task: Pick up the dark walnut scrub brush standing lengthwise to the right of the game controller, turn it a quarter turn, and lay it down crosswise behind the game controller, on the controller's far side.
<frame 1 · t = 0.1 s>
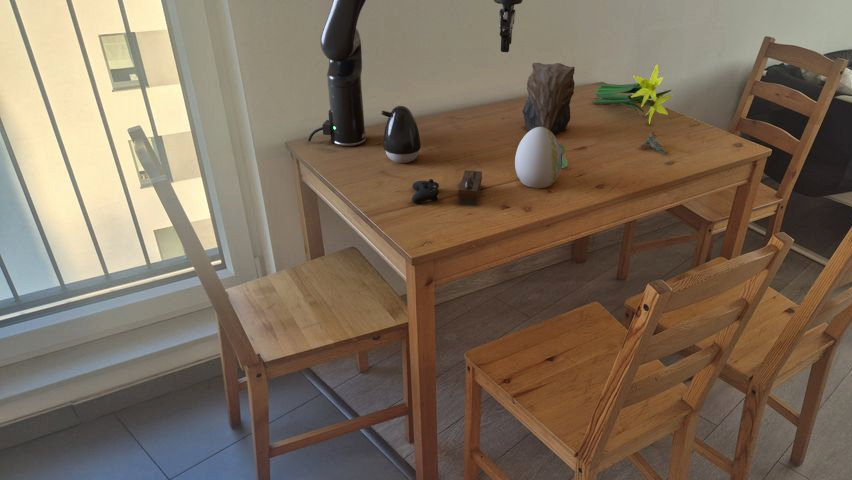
hand: (506, 47, 181), 29 cm above the table, tool pointing down, fingers open, 8 cm apart
decorative egg: (537, 182, 180), on the table
owl: (544, 131, 213), on the table
game controller: (425, 197, 170), on the table
seedling: (556, 165, 191), on the table
pump dispenser: (402, 160, 189), on the table
dragon figurine: (654, 150, 202), on the table
scrub brush: (470, 195, 171), on the table
daffodil flowers: (625, 115, 229), on the table
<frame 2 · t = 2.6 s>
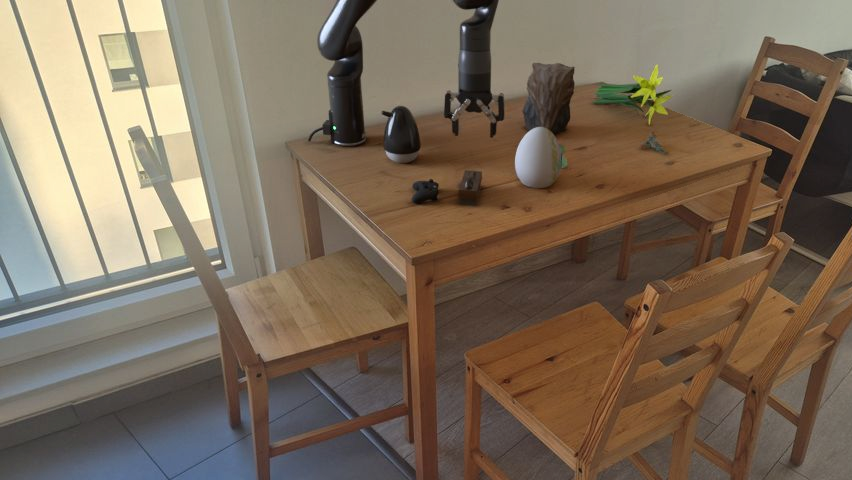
hand: (474, 135, 164), 15 cm above the table, tool pointing down, fingers open, 8 cm apart
nothing on the table moved.
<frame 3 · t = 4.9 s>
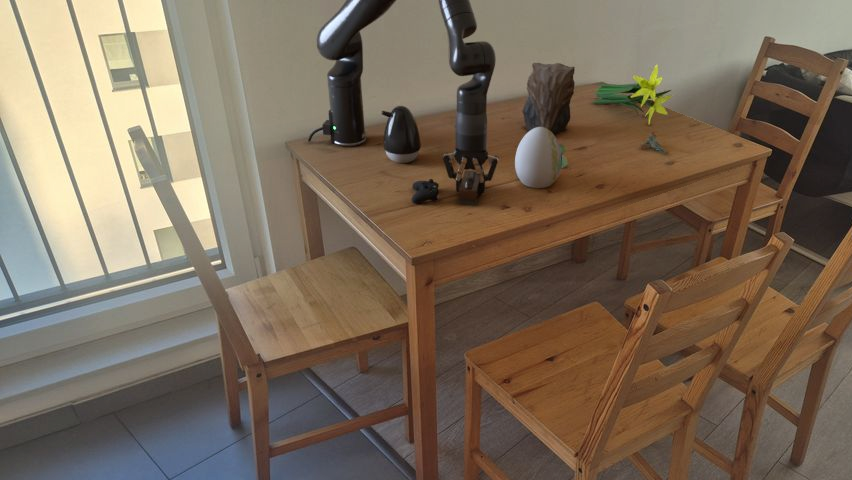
hand: (470, 193, 171), 1 cm above the table, tool pointing down, fingers closed on scrub brush, 4 cm apart
scrub brush: (470, 195, 171), on the table, touching gripper
everything else where it was.
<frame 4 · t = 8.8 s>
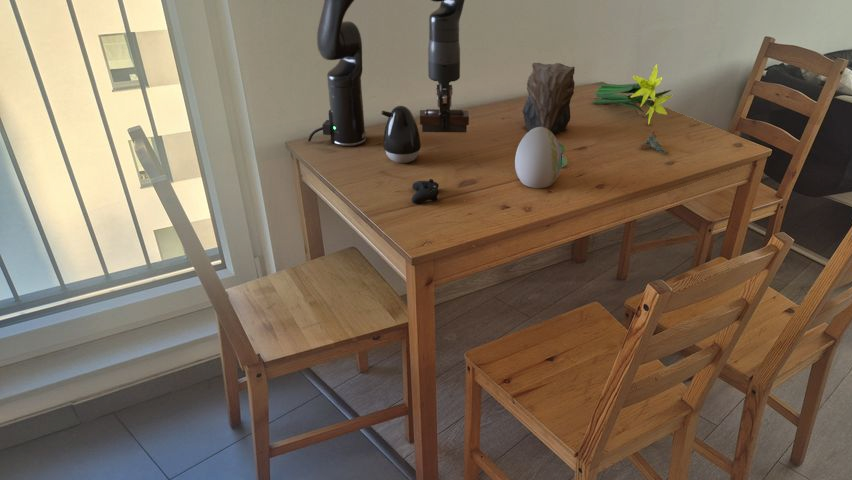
hand: (444, 127, 169), 15 cm above the table, tool pointing down, fingers closed on scrub brush, 4 cm apart
scrub brush: (444, 129, 170), point 14 cm above the table, touching gripper
everything else where it was.
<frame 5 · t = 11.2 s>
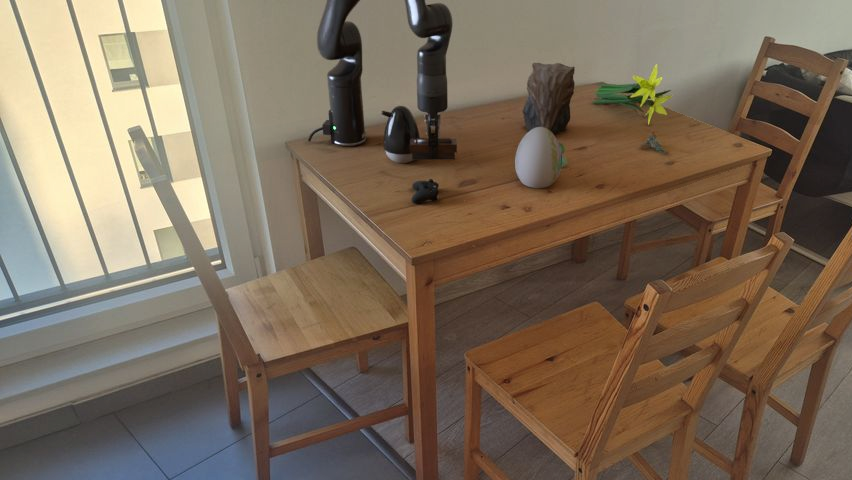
hand: (433, 155, 177), 6 cm above the table, tool pointing down, fingers closed on scrub brush, 4 cm apart
scrub brush: (433, 156, 177), point 6 cm above the table, touching gripper
everything else where it was.
when the fingers open (1 cm above the table, at t = 13.0 s): scrub brush stays where it is, on the table.
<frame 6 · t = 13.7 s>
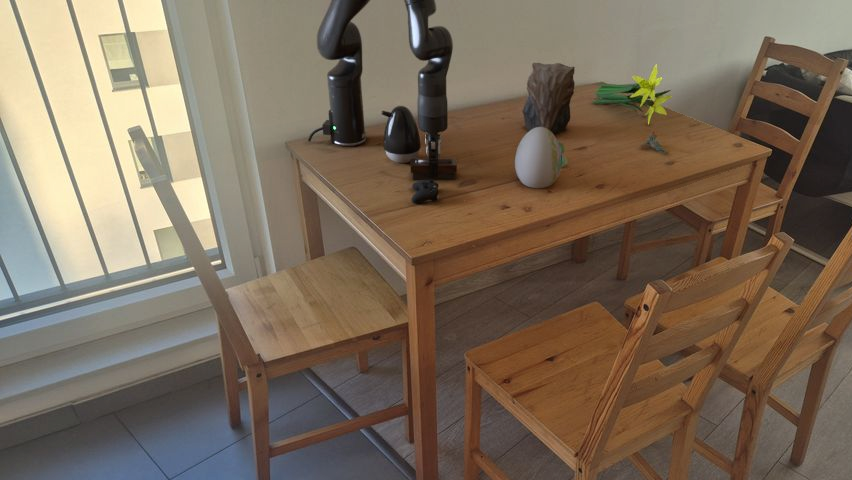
hand: (433, 170, 179), 2 cm above the table, tool pointing down, fingers open, 8 cm apart
scrub brush: (433, 176, 180), on the table
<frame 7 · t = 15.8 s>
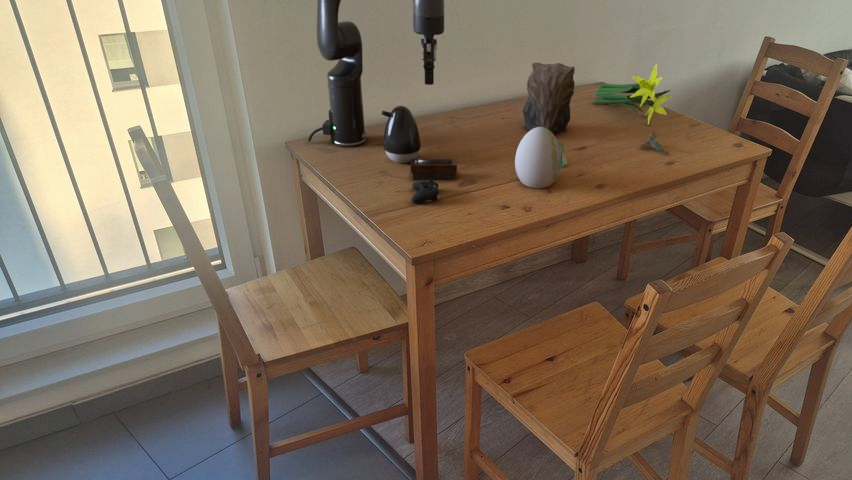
hand: (429, 79, 172), 24 cm above the table, tool pointing down, fingers open, 8 cm apart
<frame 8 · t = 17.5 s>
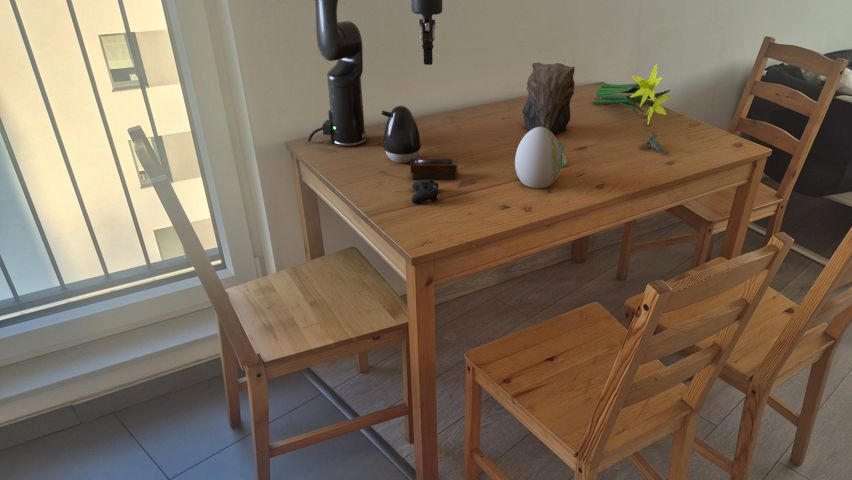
hand: (428, 59, 173), 28 cm above the table, tool pointing down, fingers open, 8 cm apart
at the end: scrub brush inside the target area (0.1 cm from its centre), on the table; scrub brush tilted 0°; game controller moved 0.2 cm from its start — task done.
